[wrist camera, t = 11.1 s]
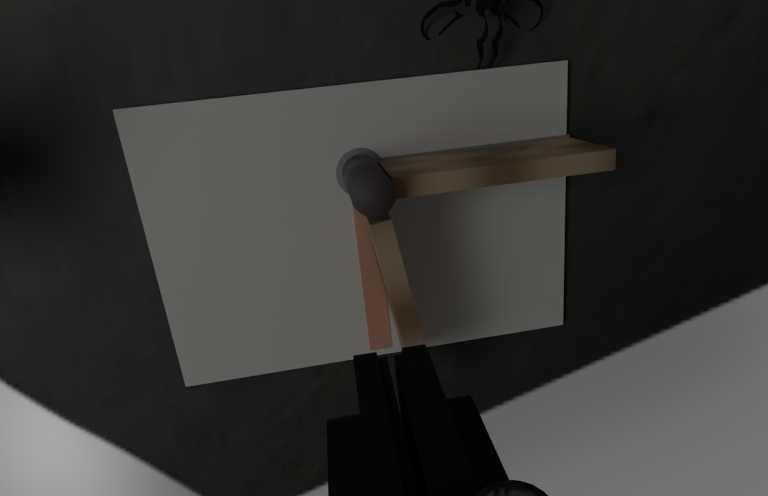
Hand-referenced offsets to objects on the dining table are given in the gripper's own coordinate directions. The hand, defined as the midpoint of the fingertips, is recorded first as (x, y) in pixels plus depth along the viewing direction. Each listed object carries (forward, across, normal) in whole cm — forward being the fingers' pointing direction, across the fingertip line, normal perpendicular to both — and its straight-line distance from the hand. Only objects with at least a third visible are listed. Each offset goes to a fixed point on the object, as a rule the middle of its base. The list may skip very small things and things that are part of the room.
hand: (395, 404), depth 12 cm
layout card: (+24, -1, +4) cm, 24 cm away
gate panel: (+23, -2, +7) cm, 24 cm away
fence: (+24, -7, 0) cm, 25 cm away
